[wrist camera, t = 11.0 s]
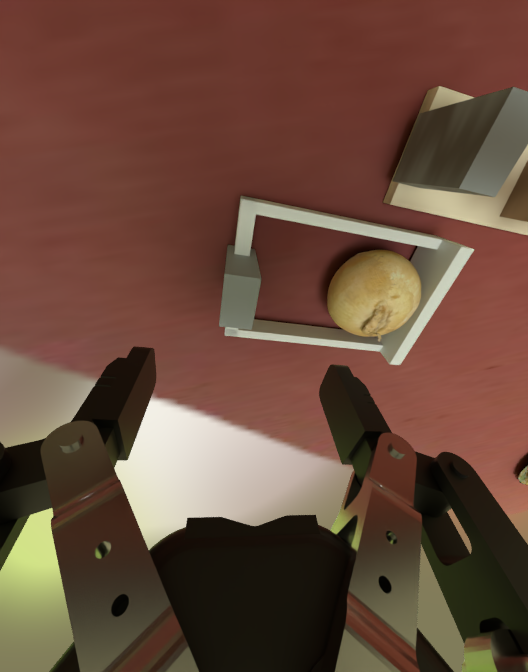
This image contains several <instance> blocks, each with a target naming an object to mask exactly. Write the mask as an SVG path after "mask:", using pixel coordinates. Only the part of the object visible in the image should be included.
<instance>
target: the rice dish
mask: <svg viewBox="0 0 528 672" xmlns="http://www.w3.org/2000/svg"><path fill="white" fill-rule="evenodd" d="M527 467H528V465H527V466H526V467H525V469H524V470H522V472H521V473H520V475H519V477H518V479H519V480H520V483H522V484H526V485H528V470H527Z"/></svg>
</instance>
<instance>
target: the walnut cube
mask: <svg viewBox="0 0 528 672" xmlns="http://www.w3.org/2000/svg"><path fill="white" fill-rule="evenodd" d="M500 217H505V218H510V219H515V220H520V221H526V222H528V161H527V162H526V164H525V166H524V168H523V170H522V172H521V174H520V176H519V178H518V180H517V182H516V184H515V186H514V188H513V190H512V192H511V194H510V196H509V198H508V200H507V202H506V204H505V206H504V208H503V210H502V212H501V214H500Z"/></svg>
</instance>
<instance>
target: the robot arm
mask: <svg viewBox="0 0 528 672" xmlns="http://www.w3.org/2000/svg"><path fill="white" fill-rule="evenodd" d="M155 383H156V365H155V353H154V349H153V348H146V347H133V348H132V350H131V351H130V353H129V355H128V357H127V358H117V359H116V360H114V361H113V362H112V363H110V364H109V365H108V366H107V367H106V368H105V370H104V372H103V373H102V375H101V378H99V379H98V381H97V382H96V384H95V386H94V387H93V389H92V390H91V392H90V394H89V395H88V397H87V398H86V400H85V401H84V403H83V404H82V406H81V407H80V409H79V411H78V412H77V414H76V415H75V417H74V418H73V420H72V421H71V422H70V423H67V424H65V425H62V426H60V427H59V428H57V429H55V430H54V431H53V432H51V433H50V434H49V435H48V436H47V437H46V438H45V439H42V440H39V441H34V442H30V443H25V444H21V445H16V446H12V447H8V448H5V447H4V446H3V444H1V443H0V570H1V568H2V566H3V565H4V563H5V560H6V559H7V557H8V555H9V553H10V551H11V550H12V547H13V546H14V544H15V542H16V540H17V538H18V536H19V535H20V533H21V531H22V529H23V527H24V525H25V523H26V521H27V519H28V518H29V516H30V515H31V514H34V513H37V512H40V511H43V510H46V509H49V508H53V515H54V516H53V518H52V519H51V527H52V534H53V539H54V544H55V549H56V554H57V559H58V564H59V568H60V574H61V579H62V584H63V589H64V593H65V598H66V603H67V608H68V613H69V618H70V623H71V628H72V633H73V638H74V642H73V643H72V644H71V646H70V647H69V648H68V649H67V651H66V652H65V653H64V654H63V656H62V657H61V658H60V659H59V661H58V662H57V663H56V664H55V665H54V667H53V668H52V669H51V670H50V672H454V671H453V670H452V669H451V668H450V667H449V665H448V664H447V663H446V662H445V661H444V659H443V658H442V657H441V656H440V654H439V653H438V652H437V651H436V650H435V648H434V647H433V646H432V645H431V644H430V643H429V641H428V640H427V639H426V638H425V637H424V635H423V634H422V633H421V632H420V630H419V629H418V628H417V614H418V593H419V572H420V553H421V544H422V547H423V549H424V551H425V554H426V556H427V558H428V561H429V563H430V565H431V567H432V570H433V572H434V574H435V577H436V579H437V581H438V584H439V586H440V588H441V591H442V593H443V595H444V597H445V600H446V602H447V604H448V607H449V609H450V611H451V614H452V616H453V618H454V620H455V623H456V625H457V628H458V630H459V632H460V635H461V637H462V639H463V641H464V659H465V661H464V662H463V664H462V672H528V545H527V543H526V542H525V540H524V539H523V538H522V536H521V535H520V533H519V532H518V530H517V529H516V528H515V526H514V525H513V524H512V522H511V521H510V519H509V518H508V516H507V515H506V514H505V512H504V511H503V509H502V508H501V507H500V505H499V504H498V502H497V501H496V500H495V498H494V497H493V495H492V494H491V493H490V491H489V490H488V488H487V487H486V486H485V484H484V483H483V481H482V480H481V479H480V477H479V476H478V474H477V473H476V471H475V470H474V469H473V468H472V467H471V466H470V465H469V464H468V463H467V462H466V461H465V460H464V459H462V458H461V457H459V456H457V455H455V454H453V453H450V452H442V453H440V454H439V455H438V456H437V457H436V458H433V457H430V456H427V455H424V454H421V453H418V452H415V451H414V450H413V448H412V447H411V445H410V444H409V443H408V442H407V441H406V440H404V439H403V438H402V437H400V436H398V435H396V434H393V433H392V432H391V430H390V429H389V427H388V425H387V423H386V421H385V420H384V418H383V416H382V414H381V413H380V411H379V409H378V407H377V405H376V404H375V402H374V400H373V398H372V397H371V396H370V393H369V391H368V389H367V388H366V386H365V385H364V384H363V383H362V382H361V381H360V380H359V379H358V378H357V377H354V376H353V374H352V373H351V371H350V369H349V367H348V366H343V365H330V366H329V368H328V370H327V373H326V375H325V377H324V379H323V382H322V384H321V386H320V391H319V396H320V401H321V404H322V407H323V410H324V413H325V415H326V418H327V421H328V424H329V427H330V430H331V433H332V436H333V439H334V442H335V445H336V448H337V451H338V454H339V457H340V460H341V463H342V464H349V465H353V468H354V471H353V472H352V475H351V477H350V481H349V484H348V487H347V490H346V493H345V496H344V499H343V502H342V506H341V509H340V512H339V514H338V517H337V519H336V520H335V522H334V524H333V526H332V528H331V531H330V530H328V529H326V528H324V527H322V526H320V525H318V523H317V518H316V515H292V516H284V517H281V518H278V519H276V520H273V521H270V522H267V523H265V524H262V525H259V526H250V525H246V524H243V523H239V522H236V521H233V520H229V519H226V518H222V517H204V518H187V525H186V527H185V528H183V529H180V530H177V531H175V532H173V533H171V534H169V535H168V536H166V537H165V538H163V539H162V540H160V541H159V542H158V543H157V544H155V545H154V546H153V547H152V548H151V549H150V550H148V548H147V545H146V543H145V540H144V538H143V536H142V533H141V531H140V528H139V526H138V523H137V521H136V518H135V516H134V513H133V511H132V509H131V506H130V504H129V501H128V499H127V496H126V494H125V492H124V489H123V487H122V484H121V482H120V480H119V479H118V477H117V475H116V472H115V470H114V467H115V465H116V462H117V460H128V457H129V455H130V452H131V449H132V447H133V444H134V441H135V438H136V436H137V433H138V430H139V428H140V425H141V422H142V420H143V417H144V414H145V412H146V409H147V406H148V404H149V401H150V398H151V396H152V393H153V390H154V387H155ZM451 508H452V509H453V511H454V513H455V515H456V517H457V518H458V520H459V522H460V524H461V526H462V527H463V529H464V531H465V533H466V534H467V536H468V538H469V540H470V543H471V546H472V552H471V554H470V553H469V551H468V549H467V547H466V546H465V544H464V542H463V540H462V538H461V537H460V535H459V533H458V531H457V529H456V527H455V525H454V524H453V522H452V520H451V518H450V516H449V514H448V513H447V511H449V510H450V509H451Z"/></svg>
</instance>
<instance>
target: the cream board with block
mask: <svg viewBox="0 0 528 672" xmlns="http://www.w3.org/2000/svg"><path fill="white" fill-rule="evenodd" d="M527 161H528V92H527V91H524V90H521V89H518V88H516V87H511V88H508V89H504V90H501V91H497V92H494V93H490V94H487V95H483V96H479V97H476V98H474V97H471V96H468V95H465V94H462V93H459V92H456V91H453V90H450V89H447V88H444V87H441V86H438V87H436V88H433V89H430V90H428V91H427V94H426V96H425V99H424V101H423V104H422V106H421V109H420V111H419V114H418V116H417V119H416V121H415V124H414V126H413V129H412V131H411V134H410V136H409V139H408V141H407V144H406V146H405V149H404V151H403V154H402V156H401V159H400V161H399V164H398V166H397V168H396V171H395V173H394V176H393V178H392V181H391V183H390V186H389V188H388V191H387V193H386V196H385V198H384V201H383V203H386V204H390V205H395V206H399V207H404V208H408V209H413V210H417V211H422V212H426V213H430V214H435V215H439V216H444V217H448V218H453V219H457V220H462V221H466V222H471V223H475V224H480V225H484V226H488V227H493V228H497V229H502V230H506V231H511V232H515V233H520V234H524V235H528V222H526V221H520V220H515V219H510V218H505V217H500V214H501V212H502V210H503V208H504V206H505V204H506V202H507V200H508V198H509V196H510V194H511V192H512V190H513V188H514V186H515V184H516V182H517V180H518V178H519V176H520V174H521V172H522V170H523V168H524V166H525V164H526V162H527Z"/></svg>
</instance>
